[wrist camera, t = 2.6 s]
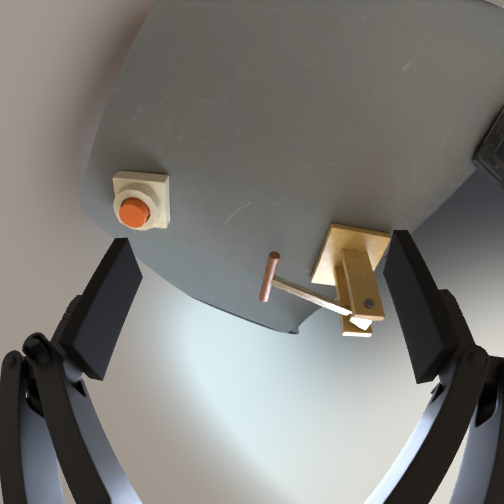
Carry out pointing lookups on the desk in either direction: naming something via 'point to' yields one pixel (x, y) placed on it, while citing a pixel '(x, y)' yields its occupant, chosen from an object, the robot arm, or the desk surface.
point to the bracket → (353, 272)
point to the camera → (493, 154)
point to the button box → (144, 195)
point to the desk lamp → (497, 2)
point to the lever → (303, 292)
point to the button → (133, 212)
